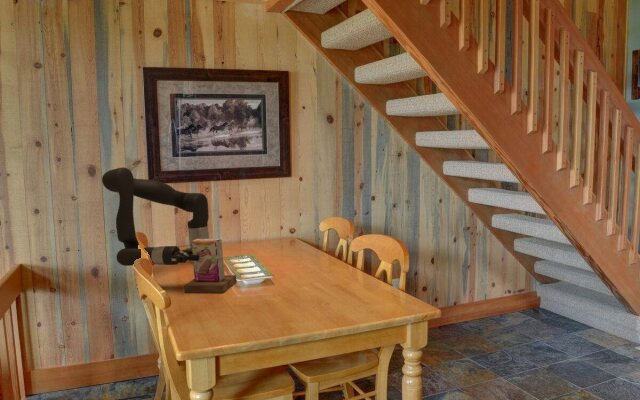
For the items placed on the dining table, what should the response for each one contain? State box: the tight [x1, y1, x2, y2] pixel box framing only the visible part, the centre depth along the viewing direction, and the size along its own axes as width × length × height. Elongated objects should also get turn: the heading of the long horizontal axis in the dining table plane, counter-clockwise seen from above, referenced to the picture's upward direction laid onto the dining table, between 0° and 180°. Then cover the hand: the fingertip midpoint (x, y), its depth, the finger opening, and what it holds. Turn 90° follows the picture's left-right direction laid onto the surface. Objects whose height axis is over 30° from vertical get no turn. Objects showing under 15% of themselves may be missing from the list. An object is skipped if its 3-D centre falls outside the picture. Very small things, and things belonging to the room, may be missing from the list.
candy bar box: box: [191, 238, 226, 282], centre depth 210 cm, size 11×5×16 cm, turn 73°
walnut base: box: [183, 274, 237, 294], centre depth 211 cm, size 14×16×3 cm
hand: (203, 255), depth 210 cm, fingers open, 8 cm apart
